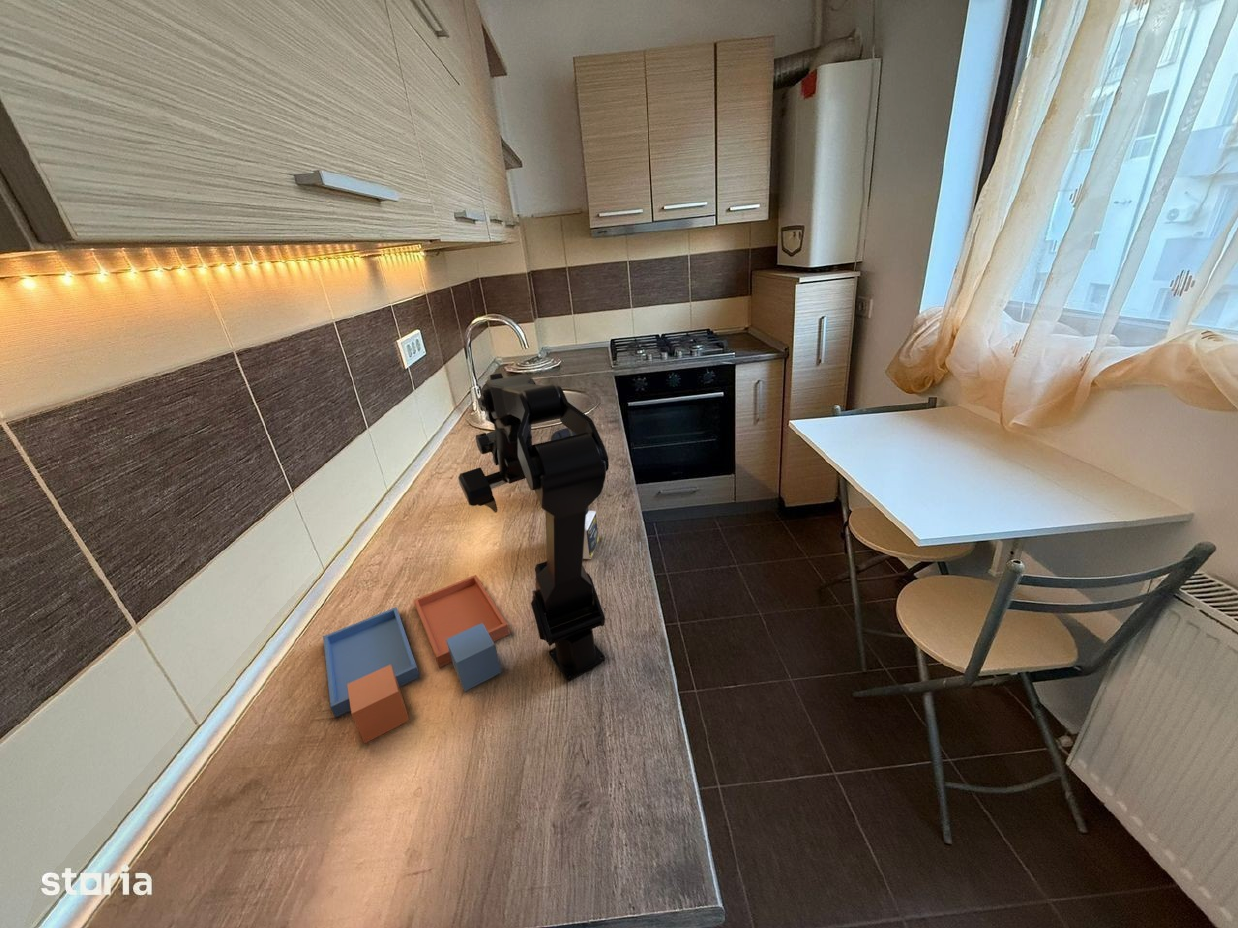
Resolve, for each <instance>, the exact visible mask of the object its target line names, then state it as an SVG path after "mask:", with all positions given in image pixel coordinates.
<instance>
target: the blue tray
mask: <svg viewBox="0 0 1238 928" xmlns="http://www.w3.org/2000/svg"><path fill="white" fill-rule="evenodd" d="M322 639H323V650H324V659H325V669H326V675H327V676H326V679H327V688H328V696H329V697H328V699H329V705H330V709H331V711H332V714H333V716H334V718H338V717H341V716H342V715H345V714H347V713H349V712H351V708H350V701H349V695H348V688H347V684H349V683H351V682H353V681H355V680H358V679H360V678H362V677H364V676H366V675H369V674H371V673H373V672H375V671H377V670H380V669H382V668H384V667H386V666H388V665H391V666H392V668H393V671H394V674H395V677H396V679H397V682H398V685H399V687H400V688H401V687H403V686H405V685H407V684H409V683H411V682H413V681H415V680H418V679H419V678H421V676H420V672H419V670H418V666H417V663H416V661H415V658H414V655H413V651H412V648H411V645H410V643H409V640H408V637H407V634H406V630H405V627H404V625H403V622H402V618H401V616H400V613H399V610H398V607H397V606H395V607H393V608H390V609H387V610H385V611H382V612H380V613H378V614H376V615H375V614H374V615H373V616H369V617H368V618H365V619H363V620H359V621H358V622H356V623H352V624H350V625H347V626H346V627H343V628H341V629H338V630H336V631H333V632H330V633H328V634H326V635H322Z"/></svg>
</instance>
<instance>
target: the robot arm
mask: <svg viewBox="0 0 1238 928" xmlns="http://www.w3.org/2000/svg"><path fill="white" fill-rule="evenodd" d="M479 395H480V396H479V397H478V399H477V404H478V408H482V409H483V411H484V412H485V413H486V414H487V417H488V419H489V421H490V422H491V423H492V425H493V428H494V429H493V430H492V431H489V432H487V433H486V432H482V433H479V434H476V435H475V443H476V446H477V449H478V451H479V452H480V454H481V455H486V454H489V453H491V454H492V461H493V463H494V465H495V466H498V471H496V472H493V473H490V474H487V475H486V474H485V472H484V471H483V469H482V467H481V466H478V467H475V468H473V469H470V470H467V471H463V472H460V473H459V475H458V477H457V479H458V483H459V487H460V488H461V490H462V493H463V495H464V497H465V498H466V499H465V500H466V501H467V502H468V505H469V506H472V507H475V506H479V507H482V506H485V507H488V508H489V509H491V510H492V511H493V512H494V514H496V513H498V506H497V501H496V498H495V497H494V493H493V489H495V488H497V487H498V488H499V487H500V486H503V485H508V484H510V485H511V484H513V483H516V482H519V481H522V480H524V479H525V480H526V483H527V485H528V488H529V489H530V491H534V493H535V495H536V497H537V500H538V503H539V505H540V507H541V509H542V510H543V511H545V541H546V542H545V543H546V544H545V546H546V560H545V561H543V562H539V563H537V564H536V565H535V567H534V573H535V574H534V575H535V576H534V577H535V578H534V580H535V581H534V583H535V585H534V586H535V590H532V596H531V599H532V600H531V602H530V604H531V605H530V606H531V610H532V612H533V617H534V620H535V623H536V627H537V628H536V629H537V633H538V637H539V639H540V640H542V641H545V643H547V645H548V647H550V646H553V645H554V647H553V648H551V649H549V650H548V656H549V657H550V659H551V660H552V662H553V663H554V664H555V666H556V667H557V669H558V671H559V672H560V673H561V675H562V676H563V678H564V679H565V680H566V681H568V682H569V681H572V680H573V679H575V678H577V677H579V676H580V675H582V674H584V673H586V672H588V671H589V670H591V669H593V668H595V667H597V666H598V665H600V664H601V663H604V662H605V660H606V656H605V654H604V653H603V652H602V651H601V649H600V648H599V647H598V646H597V644H595V637H594V629H596V628H599V627H603V626H605V623H606V616H605V614H604V610H603V608H602V605H601V602H600V598H599V596H598V594H597V590H596V588H595V584H594V582H593V579H592V576H591V574H590V573H589V572H587V571H586V569H585V566H584V559H583V551H584V535H585V519H586V508H587V507H588V508H589V506H590V505H591V504H592V503H593V502H594V501H595V500H596V499H597V498H598V497H599V496H600V495H601V494H602V492H603V490H604V484H605V481H606V477H607V476H606V475H607V472H608V470H609V468H610V467H609V466H610V464H609V456H608V451H607V450H606V446H605V444H604V442H603V440H602V438H601V435H600V433H599V432H598V431H599V430H598V429H597V428H596V425H595V422H594V421H593V419H592V418H591V417H590V416H588V415H587V414H586V413H584V411H581V410H580V409H579V408H577V407H576V406H574V405H573V404H572V403H571V402H569V401H568V398H567V396H566V394H565V392H564V389H563V388H562V387H561V386H560V385H554V384H547V385H544V384H543V385H541V384H536V382H535V381H534V379H533V378H532V377H531V376H529V375H528V374H527V373H525V374H519V375H513V376H507V377H504V376H503V374H502V373H501V372H500V373H494V374H490V375H489V380H488V379H487V380H486V381H485V383H484V384H483V385H482V387H481V389H480V392H479ZM556 420H559V421H560V423H561V424H562V425H563V426H565V428H569V429H570V430H571V431H573V432H574V433H575V434H577V435H574V436H569V437H565V438H561V439H556V440H552V441H551V440H547V441H542V442H538V443H534V444H533V434H532V433H533V432H532V425H537V424H542V423H547V422H551V421H556Z"/></svg>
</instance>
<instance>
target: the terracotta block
mask: <svg viewBox="0 0 1238 928" xmlns="http://www.w3.org/2000/svg"><path fill="white" fill-rule="evenodd" d="M347 688H348V695H349V701H350V708H351V711H350V714H351V716H352V718H353V721H354V723H355V725H356V727H357V730H358V732H359V735H360V736H361V737H360V738H361V739H362V742H363V743H364V744H366V743H368V742H370V741H372V740H374V739H376V738H378V737H379V736H381V735H383V734H386V733H387V732H389V731H391V730H393V729H396V728H397V727H399V726H402V725H403V724H405V723H407V722H409V721H410V718H409V715H408V711H407V708H406V704H405V700H404V697H403V693H402V690H401V687H399V685H398V682H397V679H396V677H395V674H394V671H393V668H392V666H391V665H388V666H386V667H384V668H382V669H380V670H377V671H375V672H373V673H371V674H369V675H366V676H364V677H362V678H360V679H358V680H355V681H353V682H351V683H349V684H347Z"/></svg>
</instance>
